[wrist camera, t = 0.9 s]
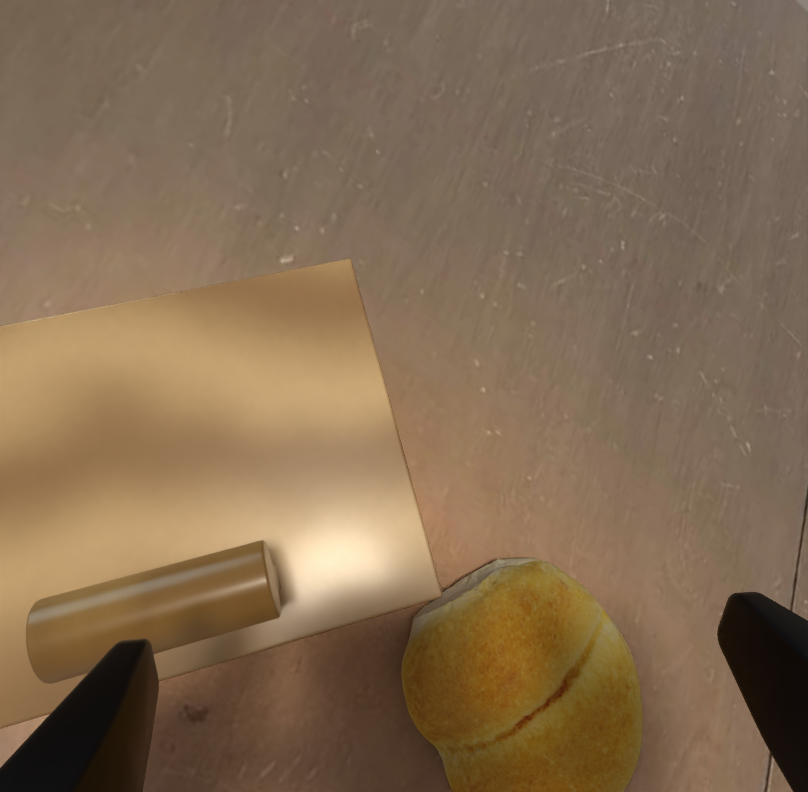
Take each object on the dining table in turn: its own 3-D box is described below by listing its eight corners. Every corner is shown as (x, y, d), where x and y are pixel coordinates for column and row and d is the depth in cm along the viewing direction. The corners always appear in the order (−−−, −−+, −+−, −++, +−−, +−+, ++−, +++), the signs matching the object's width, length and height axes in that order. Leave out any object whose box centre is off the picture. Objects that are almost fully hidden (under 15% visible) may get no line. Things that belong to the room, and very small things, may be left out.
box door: (440, 595, 19) (477, 606, 14) (-48, 740, 16) (-210, 814, 11) (350, 267, 21) (355, 177, 16) (-82, 351, 19) (-226, 276, 14)
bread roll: (495, 865, 22) (529, 928, 18) (367, 639, 24) (373, 653, 20) (668, 726, 24) (732, 756, 20) (539, 524, 25) (575, 517, 22)
